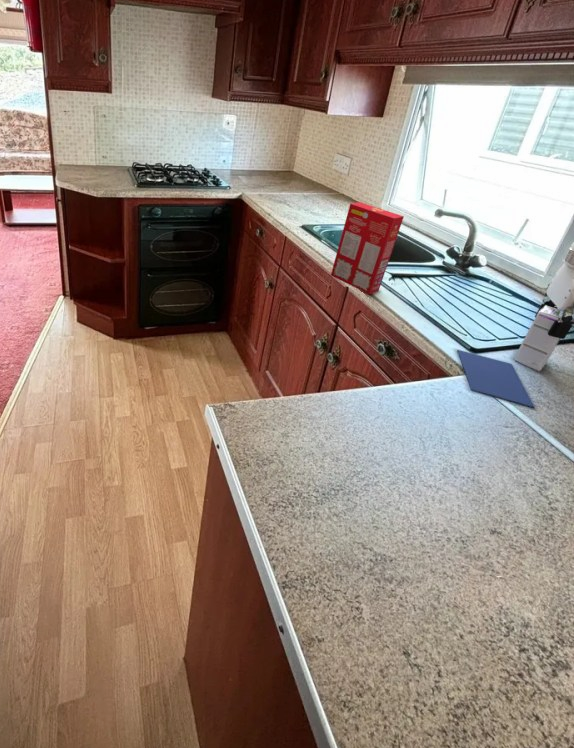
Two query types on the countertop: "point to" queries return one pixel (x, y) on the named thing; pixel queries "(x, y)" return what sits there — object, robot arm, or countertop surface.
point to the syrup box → (539, 340)
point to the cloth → (494, 378)
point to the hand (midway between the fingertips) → (548, 327)
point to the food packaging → (366, 246)
